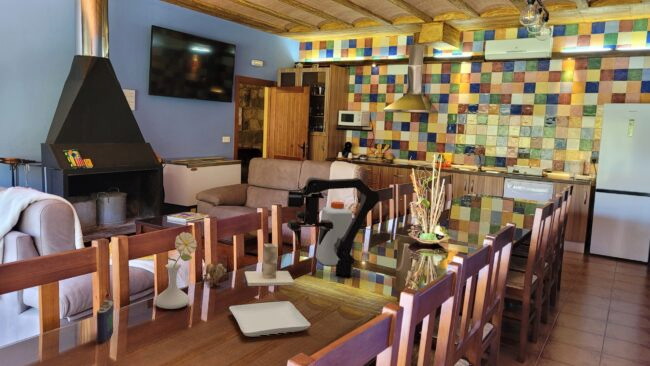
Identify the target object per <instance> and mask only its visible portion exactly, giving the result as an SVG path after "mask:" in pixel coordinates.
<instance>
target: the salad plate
mask: <svg viewBox="0 0 650 366" xmlns="http://www.w3.org/2000/svg"><path fill="white" fill-rule="evenodd" d="M229 311H230V313H231V314H232V315H233V317H234V318H235V320H236V322H237V324H238V326H239V328H240V331H241V332H242V333H243V335H244V336H246V337H252V338H253V337H261V336H260V335H267V336H270V335H269V334H276V335H279V334H278V333H284V334H288V333H287V332H292V333H294V332H300V331H301V332H302V331H304V330H307V329H309V328H310V327H311V326H312V324H311V323H310V322H309V321H308V319H306V318H305V317H304V316H303V314H301V312H300V311H299V310H298V309H297V308H296V307H295V305H294V304H293V303H292V302H291V301H286V300H285V301H272V302H261V303H259V302H258V303H248V304H237V305H230V306H229Z"/></svg>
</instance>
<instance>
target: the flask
mask: <svg viewBox="0 0 650 366" xmlns="http://www.w3.org/2000/svg"><path fill="white" fill-rule="evenodd" d="M113 333H114V301H113V300H106V299H104V300H103V305H102V307H100V308H99V309H98V310H97V311H96V343H97V344H98V343H99V345H103V343H104V344H106V343H107V342H108V341H109V340H110V339H111V338H112V336H113Z"/></svg>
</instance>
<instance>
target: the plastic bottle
mask: <svg viewBox="0 0 650 366" xmlns="http://www.w3.org/2000/svg"><path fill="white" fill-rule="evenodd" d="M320 216H321V217H320V221H321V220H329V221H331V222H332V223H333V225H334V226H333V229H330V231H328V232H327V234H326V235H325V237H324V239H323V241H322V242H321V244H320V245H319V234H320V228H319V230H318V237H317V243H316V252H315V259H317V261H319V262H320V264H322V265H324V266H327V267H328V266H329V267H331V266H332V267H333V266H334V267H336V264H337V262H338V260H339V258H338V257H337V255H336V254H335V252H334V244H335V243H336V241H337V238H338V237H339V238H340V239H341V238H342V237H343V236H344V235H345V233H346V231H347V230H348V228H349V226H350V224H351V222H352V220H353V212H352V211H351V210H350V209H348V208H347V207H345V203H344V202H342V201H332V202H331V203H330V206H325V207H322V209H321V215H320ZM350 254H351V256H352V257H353V248H352V249H351V252H350Z"/></svg>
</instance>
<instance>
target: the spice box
mask: <svg viewBox="0 0 650 366" xmlns="http://www.w3.org/2000/svg"><path fill="white" fill-rule="evenodd" d="M278 248H279V246H278V245H277V244H276V243H263V248H262V249H263V250H262V251H263V252H262V266H261V267H262V269H261V271H262V276H263V277H264V279H271V278H276V271H277V270H278V269H277V266H278V253H279V252H278Z"/></svg>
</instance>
